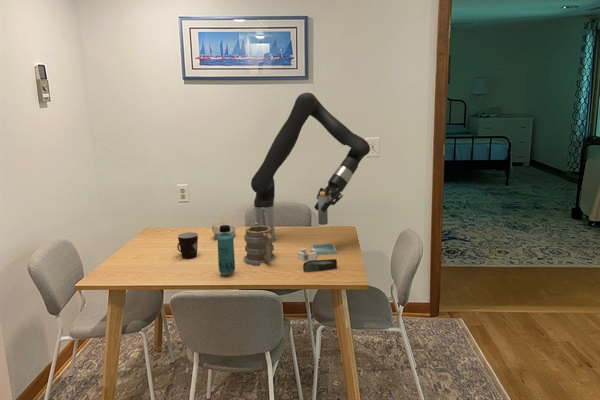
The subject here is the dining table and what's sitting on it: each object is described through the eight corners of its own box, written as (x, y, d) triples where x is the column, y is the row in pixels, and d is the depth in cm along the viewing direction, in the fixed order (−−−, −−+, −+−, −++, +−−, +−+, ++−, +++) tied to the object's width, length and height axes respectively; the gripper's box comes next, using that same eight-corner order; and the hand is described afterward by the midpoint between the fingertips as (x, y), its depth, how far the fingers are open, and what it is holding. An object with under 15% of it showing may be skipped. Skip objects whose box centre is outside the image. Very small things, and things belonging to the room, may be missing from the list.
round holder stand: (305, 264, 193) (305, 255, 192) (295, 259, 199) (294, 250, 198) (320, 260, 197) (320, 251, 197) (309, 255, 203) (309, 247, 203)
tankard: (241, 257, 203) (239, 224, 200) (269, 253, 208) (268, 220, 205) (254, 273, 185) (253, 237, 182) (284, 268, 190) (283, 232, 187)
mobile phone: (335, 257, 187) (299, 261, 183) (338, 260, 184) (301, 263, 180) (335, 269, 188) (299, 273, 184) (337, 271, 185) (301, 275, 181)
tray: (313, 257, 202) (313, 251, 201) (310, 249, 211) (310, 244, 211) (336, 256, 202) (336, 250, 202) (332, 248, 212) (332, 243, 212)
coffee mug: (192, 252, 212) (191, 231, 210) (203, 256, 206) (201, 234, 204) (169, 258, 204) (167, 236, 202) (179, 263, 198) (177, 240, 196)
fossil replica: (240, 236, 236) (224, 235, 240) (238, 219, 235) (222, 219, 239) (226, 241, 225) (209, 240, 230) (224, 224, 224) (207, 223, 229)
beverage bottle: (219, 272, 188) (216, 223, 183) (236, 271, 188) (233, 223, 184) (218, 278, 181) (214, 228, 177) (235, 277, 182) (232, 227, 177)
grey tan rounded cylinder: (319, 225, 202) (318, 193, 199) (317, 222, 206) (317, 191, 203) (328, 224, 202) (327, 192, 199) (326, 222, 206) (326, 190, 203)
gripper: (325, 171, 209) (304, 202, 205) (346, 175, 198) (324, 208, 194) (334, 181, 213) (314, 211, 209) (356, 186, 202) (334, 218, 198)
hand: (319, 209), depth 201 cm, fingers closed on grey tan rounded cylinder, 4 cm apart
